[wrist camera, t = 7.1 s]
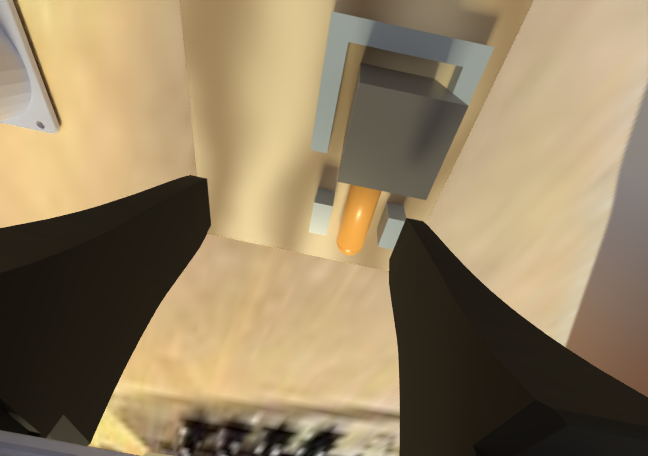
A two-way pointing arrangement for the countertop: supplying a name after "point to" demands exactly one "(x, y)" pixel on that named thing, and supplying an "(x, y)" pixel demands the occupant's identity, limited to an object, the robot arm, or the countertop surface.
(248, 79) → the board
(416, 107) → the plug
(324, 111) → the holder
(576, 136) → the countertop surface
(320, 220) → the clip
